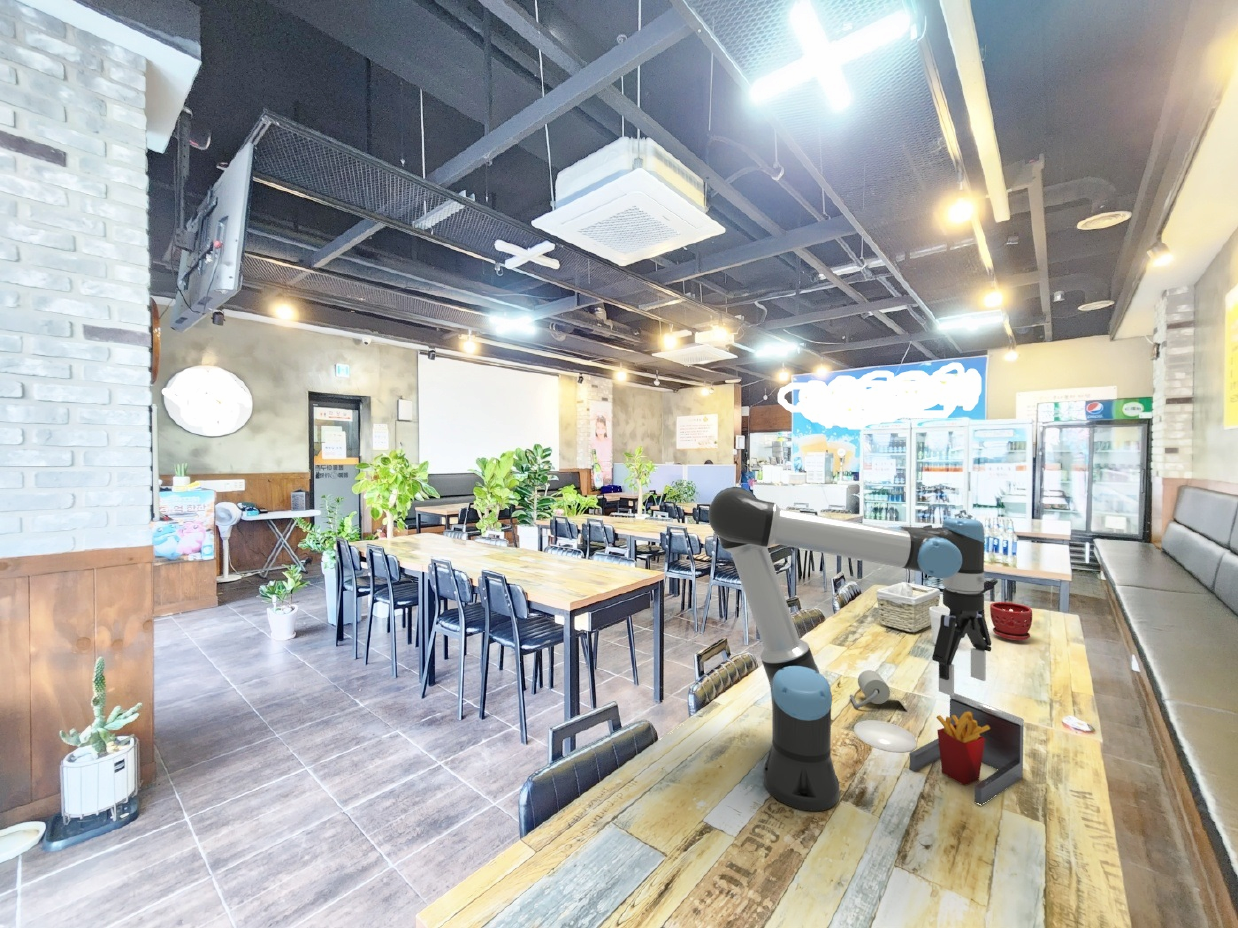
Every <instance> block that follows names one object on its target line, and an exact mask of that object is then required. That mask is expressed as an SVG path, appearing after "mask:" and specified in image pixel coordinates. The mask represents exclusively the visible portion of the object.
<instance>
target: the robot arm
mask: <svg viewBox="0 0 1238 928" xmlns="http://www.w3.org/2000/svg"><path fill="white" fill-rule="evenodd" d="M707 516H708V522H709V526H710V527H711V530H712V531H714V533H715V534H716V535H717V536H718V539H719V542H720V545H721V547H722V551H726V552H728V553H729V554H730V555H731V557H732V561H733V562H734V565H735V568H736V571H737V575H738V576H739V581H740V582H741V586H742V589H743V591H744V594H745V598H746V600H747V603H748V606H749V608H750V612H751V615H752V618H753V621H754V623H755V625H756V628H757V632H758V636H759V638H760V640H761V642H762V643H761V644H762V646H763V649H762V651H761V653H760V659H761V663H762V665H763V669H764V672H765V675H766V677H767V680H768V683H769V687H770V688H769V689H770V698H771V705H772V717H771V718H772V719H771V720H772V723H771V724H772V725H771V727H772V730H771V731H772V732H771V735H772V738H771V739H772V741H771V742H772V744H771V747H770V750H769V753H768V756H767V758H766V761H765V764H764V767H763V784H764V785H763V786H764V787H765V789H766V790H767V792H768V793H769V794H770V795H771V796H772V797H773V798H775V799H776V800H778V801H779V802H781V803H782V804H785V805H786V806H789V807H792V808H793V809H794V808H795V809H798V810H802V811H809V812H810V811H811V812H819V811H825V810H828V809H831V808H832V807H834V806H835V805H836V804H838V802H839V800H840V781H839V779H838V776H837V774H836V770H835V767H834V766H835V765H834V763H833V760H832V756H831V754H832V753H831V751H832V750H831V748H832V747H831V740H832V739H831V738H832V737H831V736H832V729H831V728H832V718H831V717H832V705H833V704H832V703H833V694H832V692H831V691H832V690H831V685H830V683H829V681H828V679H827V678H826V677H825V676H824V675H823V674H821V673H820V671H819V667H818V666H817V665H818V664H816V662H815V659H814V656H813V653H812V651H811V650H812V649H811V648H810V645H809V644H808V642H807V641H804V640H802V639H801V638H800V636H799V633H798V631H797V628H796V625H795V622H794V619H793V617H792V614H791V612H790V608H789V605H788V603H787V600H786V597H785V593H784V591H783V588H782V586H781V583H780V580H779V578H778V574H777V572H776V569H775V566H774V563H773V560H772V557H771V554H770V552H769V549H768V548H770V546H772V545H779V546H780V545H781V546H785V547H791V548H796V549H802V550H805V551H806V550H807V551H812V552H817V553H822V554H828V555H833V556H839V557H842V558H849V559H855V560H860V561H865V562H870V563H876V564H881V565H885V566H886V565H887V566H892V567H896V568H901V569H906V570H910V571H915V572H920V573H924V574H926V575H927V576H928V577H932V578H936V579H942V586H943V587H944V588H943V589H942V605H944V607H947V608H949V609H950V613H949V616H946V615H941V621H940V628H939V632H938V636H937V640H936V644H934V648H933V653H932V657H931V658H932V661H934V662H936V663H938V692H940V693H942V694H945V695H949V697H950V696H954V693H955V664H953V661H954V658H955V655H956V653H957V651H958V648H959V646H960V642H961V639H963V638H965V636H966V635H967V637H968V639H969V641H970V643H971V645H972V646H973V647H972V648H970V677H971V678H974V679H977V680H980V681H983V682H985V681H986V678H987V675H986V674H987V673H986V671H987V670H986V669H987V667H986V665H987V664H986V663H987V662H986V661H987V660H986V659H987V658H986V657H987V652H989V653H990V652H991V651H992V647H991V646H992V641H991V636H990V632H989V629H988V624H987V621H986V616H985V615H986V614H985V594H984V592H983V591H984V590H985V583H986V581H987V579H986V578H985V566H984V565H985V546H986V544H985V543H986V541H985V530H984V524H983V522H981V521H980V520H977V519H972V518H964V517H962V518H961V517H960V518H959V517H958V518H957V517H952V518H951V517H950V518H949V517H948V518H945V519H943V521H942V525H941V526H940V527H920V526H919V527H917V526H903V525H900V526H888V527H884V526H879V525H873V524H866V523H862V522H857V521H851V520H846V519H839V518H836V517H835V518H834V517H828V516H824V515H823V516H822V515H818V514H811V513H806V512H800V511H795V510H791V509H790V510H789V509H783V508H780V507H779V506H778V504H776V502H772V501H765V500H763V499H759V498H758V497H756V495H755V493H753V492H752V491H750V490H749V489H747V488H745V487H741V486H732V487H727V488H725V489H722V490H720V491H719V492H718V493H717V494H716V495H715V496H714V497H713V500H712V501H711V503H710V505H709V508H708V515H707Z"/></svg>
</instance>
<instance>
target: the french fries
mask: <svg viewBox="0 0 1238 928" xmlns="http://www.w3.org/2000/svg"><path fill="white" fill-rule="evenodd" d="M972 715H973V714H972V713H971V712H970V711H969V712H964V714H963V715H962V716H961V717H960V719H959V720H958V719H957V717H956V716H955V715H952V718H953V719H954V721H955V723H956V724H955V725H952V724H951V723H950V722H951V718H950V716H946V717H945V719H944V718H943V717H942V716H941V714H939V715H937V716H936V719H937V720H938V721H939V723H940V724H941V725H942V726H943V727H942V728H939V729H937V739H938V740H939V749H940V758H939V759H940V765H941V773H942V774H943V775H945V776H947V777H948V778H951V779H952V780H954V781H955V782H957V783H959V784H961V785H963V786H967V785H969V784H973V783H975V782H979V781H980V776H981V775H980V774H981V768H982V764H983V763H982V756H983V749H984V743H985V738H984V737H981V736H980V735H979V734H980V733H982V732H984V731H987V730H989V729H990V727H989V726H988V725H986V726H984V727H982V728H981V727H980V726H978V724H977V721H976V720H973V718H972ZM966 724H967V729H965V727H966Z"/></svg>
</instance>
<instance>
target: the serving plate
mask: <svg viewBox="0 0 1238 928" xmlns="http://www.w3.org/2000/svg"><path fill="white" fill-rule="evenodd" d="M853 728H854V729H853V732H854V735H855V736H856V737H857V738H858V739H859V740H860V741H861V742H863V743H865V744H866V745H868V746H871V747H873V748H875V749H878V750H881V751H885V752H890V753H899V754H900V753H909V752H910V753H911V752H913V751H915V750H916V748H917V746H918V741H917V739H916V737H915V736H914V734H913V733H911V732H910V731H908V730H907V729H906V728H903V727H901V726H900V725H897V724H894V723H891V722H888V721H882V720H876V719H875V720H874V719H868V720H866V719H865V720H862V721H859V722H857V723H855V725H854V727H853Z"/></svg>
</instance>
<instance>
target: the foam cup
mask: <svg viewBox="0 0 1238 928" xmlns="http://www.w3.org/2000/svg"><path fill="white" fill-rule="evenodd" d="M949 613H950V609H949V608H948V607H946V606H940V605H938V606H934V607H930V608H929V615H930V620H931V625H930V626H931V634H932V641H933V644H934V645H935V644H936V640H937V636H938V632H939V628H940V621H941V615H946V616H949Z"/></svg>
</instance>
